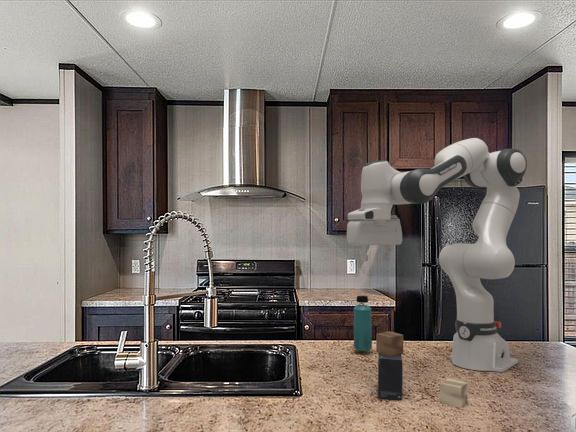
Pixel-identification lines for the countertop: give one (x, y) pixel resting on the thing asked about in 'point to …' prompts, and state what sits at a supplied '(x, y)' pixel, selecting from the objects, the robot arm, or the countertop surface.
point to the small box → (390, 377)
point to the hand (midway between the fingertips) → (375, 260)
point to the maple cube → (453, 393)
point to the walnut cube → (389, 343)
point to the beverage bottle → (362, 325)
